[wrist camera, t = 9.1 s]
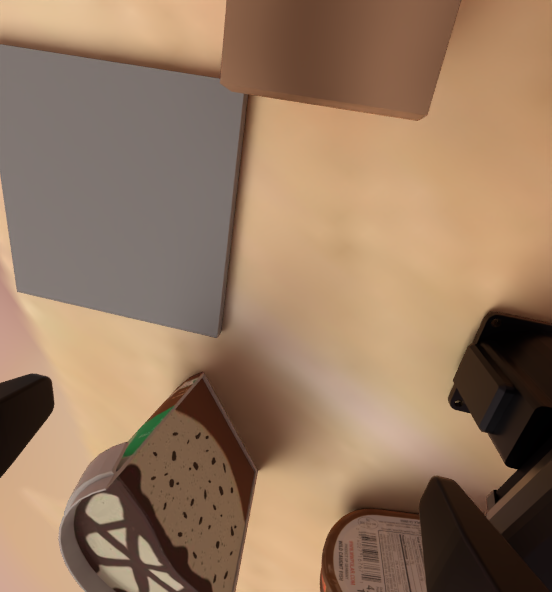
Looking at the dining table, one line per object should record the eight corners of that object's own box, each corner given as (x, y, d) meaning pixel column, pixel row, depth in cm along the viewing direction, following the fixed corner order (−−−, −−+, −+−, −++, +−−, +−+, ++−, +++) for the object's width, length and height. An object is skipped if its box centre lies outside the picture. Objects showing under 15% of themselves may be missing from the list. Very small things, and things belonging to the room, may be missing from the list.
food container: (123, 376, 25) (-3, 500, 15) (193, 353, 23) (98, 479, 14) (199, 496, 28) (132, 658, 19) (265, 485, 26) (227, 657, 17)
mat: (248, 86, 17) (244, 82, 16) (221, 332, 22) (217, 338, 21) (-5, 46, 18) (-19, 41, 17) (27, 287, 23) (17, 291, 22)
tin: (322, 523, 27) (316, 668, 19) (322, 494, 26) (316, 636, 18) (532, 551, 24) (624, 731, 17) (542, 520, 23) (646, 698, 15)
